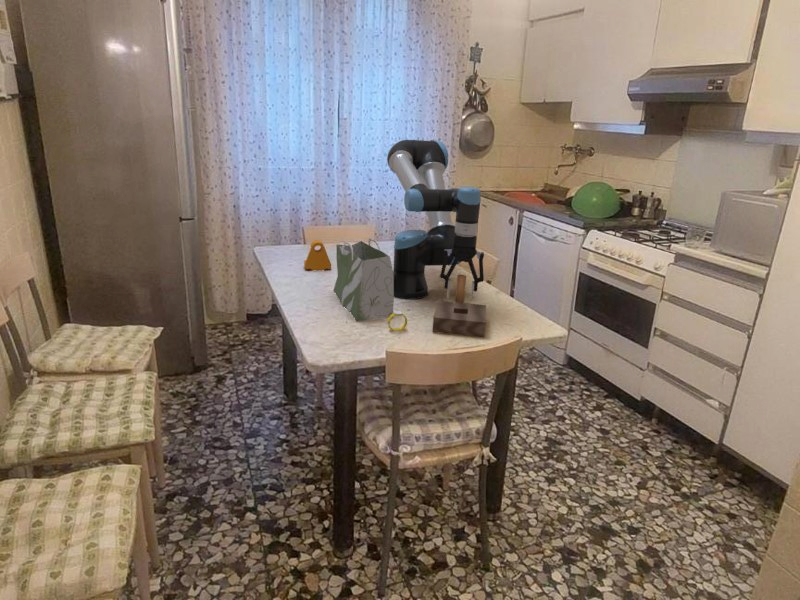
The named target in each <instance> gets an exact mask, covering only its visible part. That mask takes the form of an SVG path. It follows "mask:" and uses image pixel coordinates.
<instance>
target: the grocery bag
mask: <svg viewBox="0 0 800 600" xmlns="http://www.w3.org/2000/svg"><path fill="white" fill-rule="evenodd" d="M371 242H374V243H375V245H376V246H377V248H375V247H373V246H371ZM336 269H337V271H336V273H337V278H336V281H335V283H334V287H333V292H334V294H335V293H336V294H335V295H336V297H337V296H338V297H337V298H339V299H338V301H339V300H340V301H339V303H340V302H341V303H340V306H341V305H342V307H343V308H344V307H345V308H346V309H347V310H346V309H345V308H344V309H345V310H346V311H347V312H348V313H350V312H351V313H352V314H351V313H350V314H351V315H353V316H352V317H353V318H355V319H354V321H356V322H357V323H358V322H363V321H373V320H381V319H388V318H389V317H390V315H392V314H393V313H394V304H395V303H394V302H395V300H394V299H395V296H394V274H393V269H394V268H393V265H392V261H391V256H389V255H388V254H387V253H385V252H384V251H382V250H381V248H380V246H379V243H378V241H377V240H376V239H373V238H372V237H369V238H368V243H365V242H364V241H362V240H361V241H358V242H356V243H354V244H352V243H350V242H348V241H347V240H346V241H344V242H343V244H336ZM391 319H393V317H392V318H391Z"/></svg>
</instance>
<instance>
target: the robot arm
mask: <svg viewBox="0 0 800 600" xmlns="http://www.w3.org/2000/svg"><path fill="white" fill-rule="evenodd" d="M386 158H387V159H386V162H387V165H388V167H389V170H391V172H392V173H394V174H395V175H396V177H397V179H398V181H399V183H400V184H401V186H402V188H403V190H404V197H403V202H404V207H405V210H406V211H408V212H415V213H421V212H425V213H426V214H427V218H428V223H429V224H428V225H429V229H428V231H426V230H424V229H407V230H403V231H400V232H398V233H397V234H396V235H395V237H394V245H393V248H394V249H393V268H392V269H393V274H394V298H399V299H405V300H406V299H408V300H413V299H421V298H424V297H426V296H428V295H429V287H428V282H427V278H426V274H425V269H426V267H427V266H428V267H429V266H430V267H431V266H441V270H440V275H439V278H440V279H444V287H443V288H444V289H446V290H447V293H446V299H447V300H449V299H450V295H451V294H450V292H451V283H452V281H451V280H452V278H450V277H451V276H452V273H453V272H454V270H455V268H456V266H457V265H459V264H460V263H461V262H462V263H463V262H464V263H468V266H469V268H470V269H469V270H470V272H471V275H472V278H473V280H472V282H471V283H472V284H471V293H470V302H473V301H474V292H478V285H479V283H481V282H484V278H485V277H484V261H483V260H484V257H485V252H484V251H478V250H477V248H476V247H477V238H478V236H477V235H478V227H479V215H480V210H481V209H480V207H481V201H482V199H481V196H482V195H481V194H482V193H481V192H482V191H481V189H480V188H478V187H474V186H473V187H472V186H460V187H459V188H455V187H451V188H448V189H447V188H446V186H445V182H444V181H445V180H444V175H443V174H444V173H445V171H446V169H447V167H448V165H449V152H448V148H447V146H446V145H445V143H444V142H442V141H440V140H434V139H431V140H423V139H422V140H421V139H420V140H419V139H403V140H400V141H397V142H396V143H395V144H393V146H391V147H390V149H389V151H388V154H387V156H386ZM451 212H454V213H455V223H454V224H453V221H452V217H451V216H452V215H451ZM474 257H477V259H478V264H479V265H478V271H479V277H478V274H477V270H476V268H475V265H474V262H473V258H474ZM447 266H449V269H448V271H447V273H446V274H445V271H446V269H447V268H446V267H447Z"/></svg>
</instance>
